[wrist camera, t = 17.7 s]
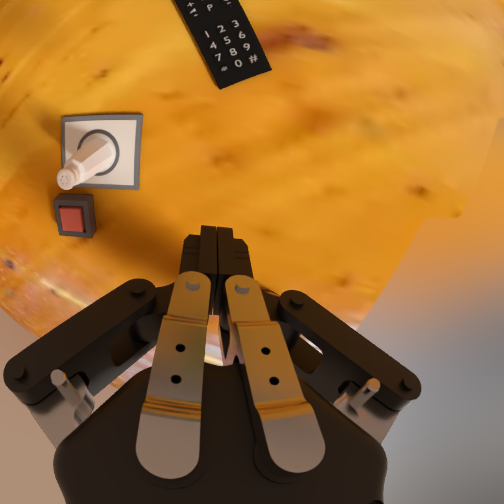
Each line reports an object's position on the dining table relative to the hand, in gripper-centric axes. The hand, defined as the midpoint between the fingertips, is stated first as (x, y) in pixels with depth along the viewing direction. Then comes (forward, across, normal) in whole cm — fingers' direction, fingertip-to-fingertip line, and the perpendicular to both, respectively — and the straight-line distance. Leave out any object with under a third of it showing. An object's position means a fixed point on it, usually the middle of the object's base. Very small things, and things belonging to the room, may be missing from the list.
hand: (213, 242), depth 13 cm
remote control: (+30, +6, -22) cm, 38 cm away
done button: (+28, +23, +15) cm, 39 cm away
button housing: (+29, +23, +15) cm, 40 cm away
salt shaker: (+28, +18, +4) cm, 34 cm away
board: (+29, +18, +4) cm, 34 cm away
